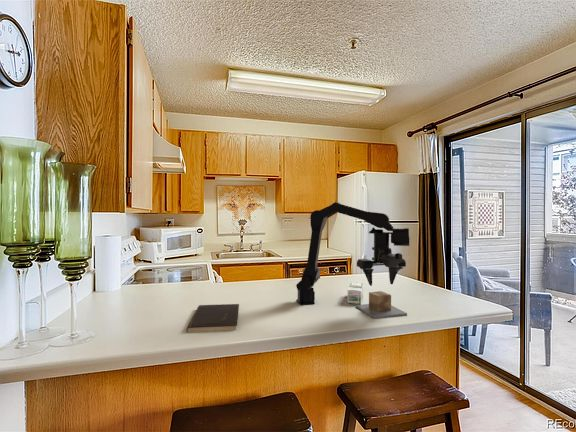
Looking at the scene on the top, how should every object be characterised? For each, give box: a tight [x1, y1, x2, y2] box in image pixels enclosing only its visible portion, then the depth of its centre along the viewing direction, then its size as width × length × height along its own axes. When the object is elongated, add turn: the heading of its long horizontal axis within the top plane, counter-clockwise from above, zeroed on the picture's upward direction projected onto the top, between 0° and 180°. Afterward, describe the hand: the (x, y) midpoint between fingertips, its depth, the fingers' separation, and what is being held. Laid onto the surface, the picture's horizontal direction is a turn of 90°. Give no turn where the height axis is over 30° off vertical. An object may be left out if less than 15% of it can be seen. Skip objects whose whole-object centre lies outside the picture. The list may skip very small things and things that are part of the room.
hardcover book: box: [186, 303, 240, 333], centre depth 110 cm, size 16×23×2 cm
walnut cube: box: [368, 290, 392, 312], centre depth 120 cm, size 6×6×6 cm
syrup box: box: [347, 282, 364, 305], centre depth 136 cm, size 6×6×14 cm
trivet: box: [355, 303, 408, 319], centre depth 120 cm, size 14×14×1 cm
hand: (381, 284), depth 120 cm, fingers open, 9 cm apart
